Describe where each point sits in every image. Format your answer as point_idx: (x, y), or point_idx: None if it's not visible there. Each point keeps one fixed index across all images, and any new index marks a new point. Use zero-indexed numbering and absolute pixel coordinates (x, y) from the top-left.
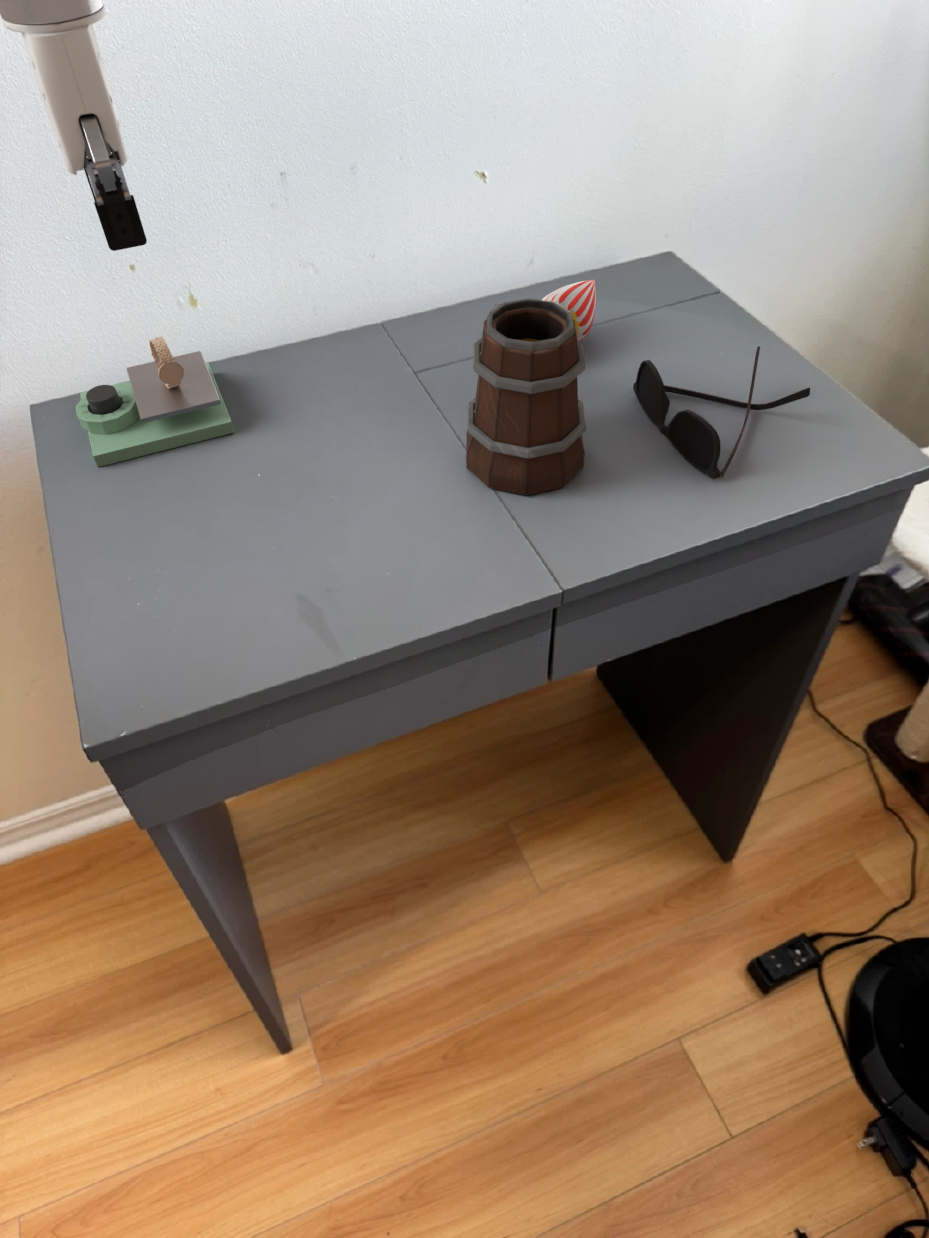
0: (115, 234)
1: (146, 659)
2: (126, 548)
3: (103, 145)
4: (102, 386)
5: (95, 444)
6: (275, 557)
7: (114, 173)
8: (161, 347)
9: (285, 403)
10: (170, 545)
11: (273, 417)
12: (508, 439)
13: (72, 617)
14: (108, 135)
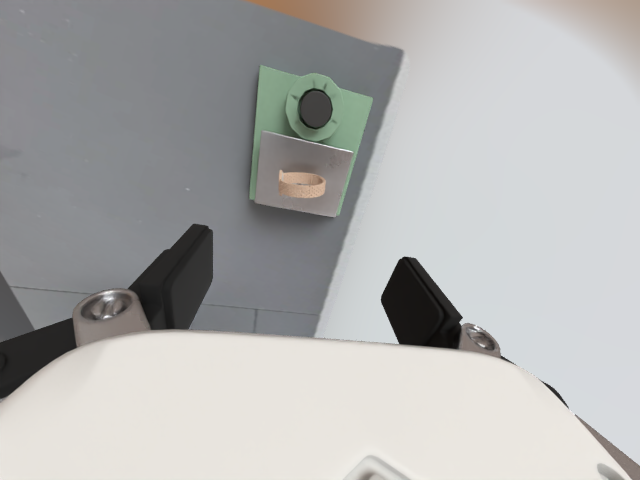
0: (161, 256)
1: None
2: (119, 38)
3: None
4: (326, 115)
5: (278, 76)
6: (74, 156)
7: (401, 328)
8: (291, 190)
9: (268, 239)
10: (112, 82)
11: (255, 225)
12: None
13: None
14: None
